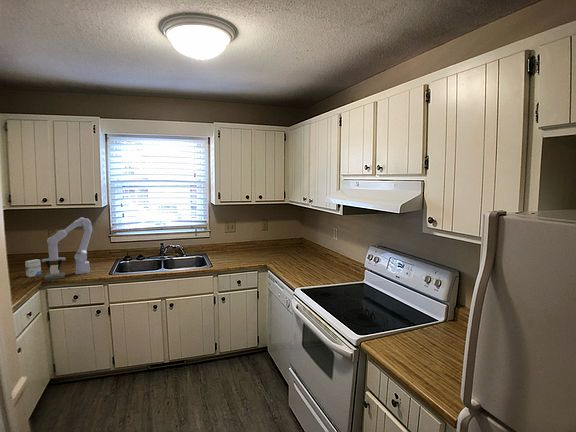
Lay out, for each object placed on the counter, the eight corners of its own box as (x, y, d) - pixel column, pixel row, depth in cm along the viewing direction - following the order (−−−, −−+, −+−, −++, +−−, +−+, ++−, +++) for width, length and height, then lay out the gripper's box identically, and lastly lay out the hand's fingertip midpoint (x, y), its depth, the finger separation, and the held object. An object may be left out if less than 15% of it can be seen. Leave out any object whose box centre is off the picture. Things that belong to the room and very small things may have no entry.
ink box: (38, 273, 270) (37, 258, 269) (41, 274, 268) (40, 259, 266) (25, 276, 263) (24, 261, 261) (29, 277, 260) (28, 262, 259)
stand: (65, 274, 267) (64, 272, 267) (63, 278, 258) (63, 275, 258) (46, 276, 261) (46, 274, 261) (44, 280, 253) (44, 277, 252)
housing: (58, 273, 258) (57, 267, 257) (50, 274, 255) (49, 267, 255) (59, 271, 264) (58, 264, 263) (51, 272, 261) (50, 265, 261)
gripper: (65, 250, 265) (66, 267, 266) (42, 252, 258) (43, 270, 259) (64, 252, 258) (65, 270, 260) (41, 254, 251) (42, 272, 253)
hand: (54, 270), depth 259 cm, fingers closed on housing, 5 cm apart
